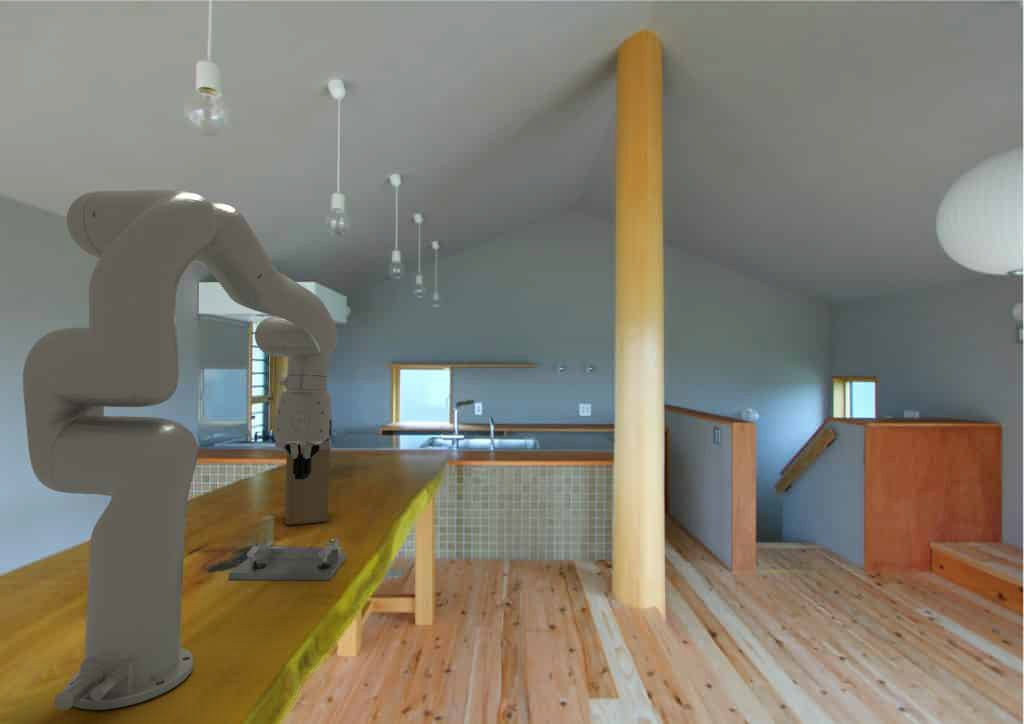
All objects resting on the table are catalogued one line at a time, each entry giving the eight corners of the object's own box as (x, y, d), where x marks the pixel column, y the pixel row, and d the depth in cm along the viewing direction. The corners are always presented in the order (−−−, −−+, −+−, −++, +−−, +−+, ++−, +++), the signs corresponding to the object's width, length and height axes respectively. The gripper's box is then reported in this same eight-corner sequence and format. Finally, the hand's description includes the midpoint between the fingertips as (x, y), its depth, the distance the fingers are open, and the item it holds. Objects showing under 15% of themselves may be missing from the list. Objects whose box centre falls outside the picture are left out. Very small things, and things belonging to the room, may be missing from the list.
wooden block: (283, 516, 143) (286, 440, 143) (324, 513, 147) (326, 439, 148) (285, 526, 134) (288, 444, 134) (328, 522, 138) (330, 443, 138)
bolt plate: (329, 580, 99) (330, 553, 99) (228, 579, 98) (229, 552, 98) (346, 558, 111) (347, 534, 111) (256, 557, 110) (257, 533, 110)
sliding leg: (255, 567, 100) (257, 526, 101) (245, 567, 100) (247, 526, 100) (273, 553, 109) (274, 515, 109) (263, 553, 109) (265, 515, 109)
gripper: (260, 383, 104) (254, 480, 103) (339, 385, 105) (334, 482, 103) (275, 384, 112) (270, 475, 110) (349, 387, 112) (344, 476, 111)
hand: (301, 478), depth 107 cm, fingers closed
